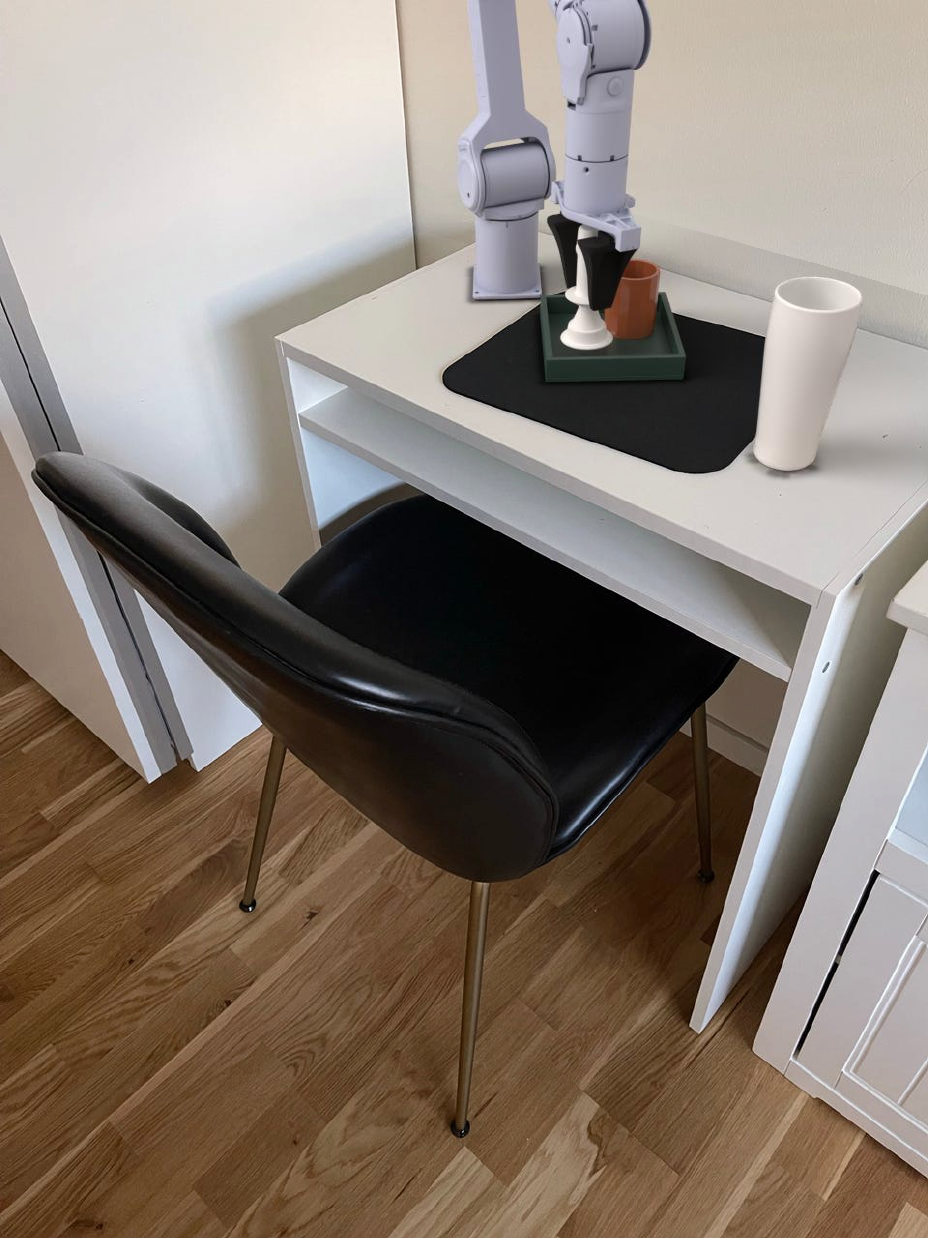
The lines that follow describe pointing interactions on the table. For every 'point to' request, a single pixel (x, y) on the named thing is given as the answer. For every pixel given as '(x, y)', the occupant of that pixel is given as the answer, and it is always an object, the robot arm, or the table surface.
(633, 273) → the cup
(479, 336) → the table surface
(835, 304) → the drinking glass
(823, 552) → the table surface
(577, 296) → the candle
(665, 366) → the tray
